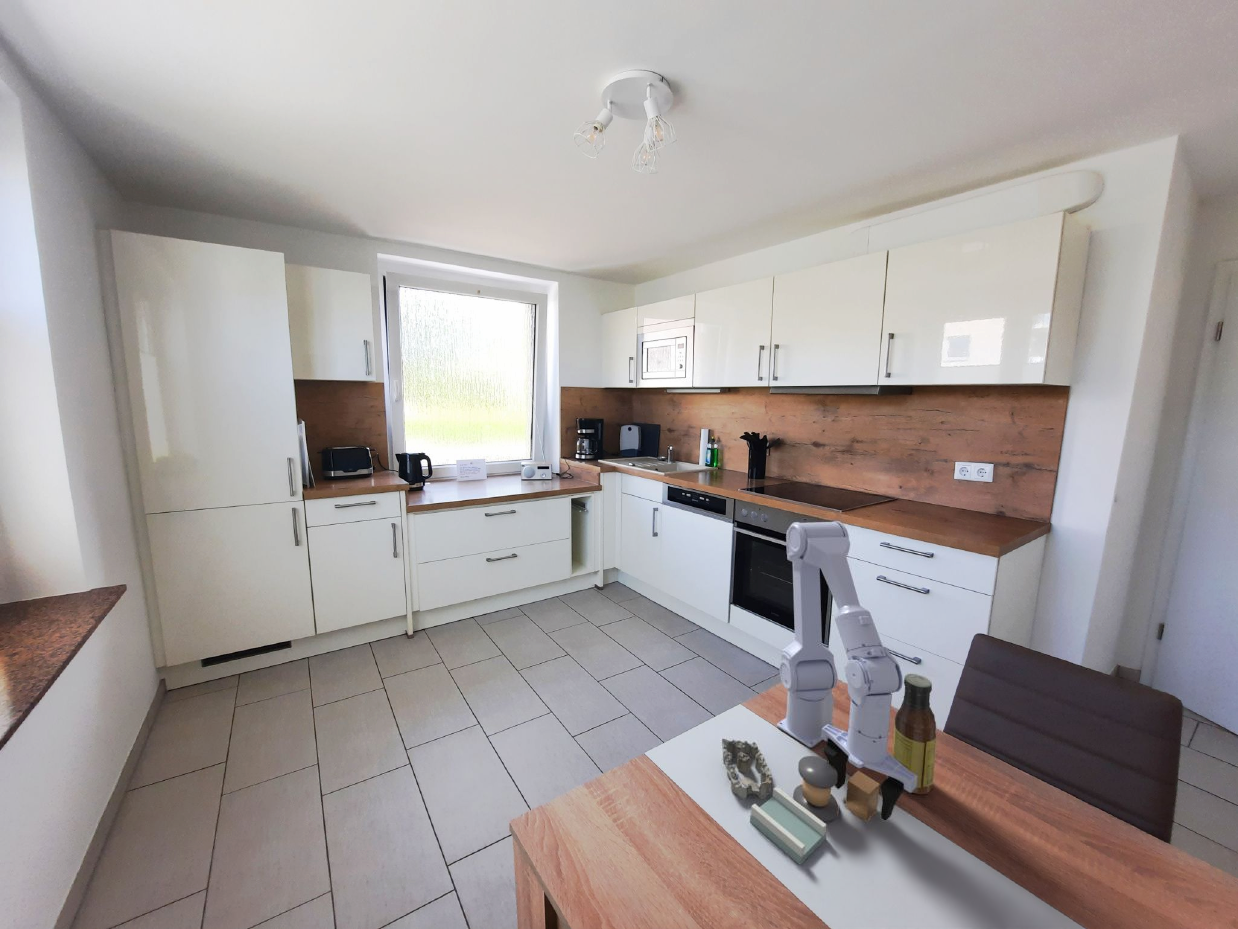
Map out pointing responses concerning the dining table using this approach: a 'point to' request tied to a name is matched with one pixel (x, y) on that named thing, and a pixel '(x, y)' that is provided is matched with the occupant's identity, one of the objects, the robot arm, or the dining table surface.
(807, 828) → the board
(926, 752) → the sauce bottle
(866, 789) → the wooden block
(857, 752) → the robot arm
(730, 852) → the dining table surface
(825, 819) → the spool
